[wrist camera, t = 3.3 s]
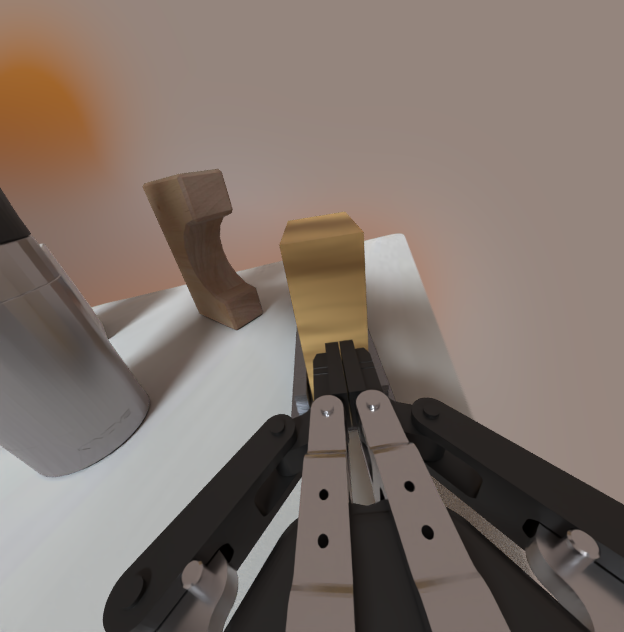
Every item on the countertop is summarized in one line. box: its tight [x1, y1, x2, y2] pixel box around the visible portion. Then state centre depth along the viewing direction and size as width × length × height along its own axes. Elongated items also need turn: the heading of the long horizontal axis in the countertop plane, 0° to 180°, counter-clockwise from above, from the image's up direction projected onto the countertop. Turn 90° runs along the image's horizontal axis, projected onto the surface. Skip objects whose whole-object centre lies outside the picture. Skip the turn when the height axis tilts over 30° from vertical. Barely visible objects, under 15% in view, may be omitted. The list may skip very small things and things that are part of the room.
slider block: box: [280, 212, 368, 401], centre depth 21 cm, size 8×5×14 cm, turn 1°
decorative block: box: [143, 169, 263, 330], centre depth 35 cm, size 11×6×20 cm, turn 50°
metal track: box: [291, 328, 396, 430], centre depth 29 cm, size 25×9×7 cm, turn 1°
